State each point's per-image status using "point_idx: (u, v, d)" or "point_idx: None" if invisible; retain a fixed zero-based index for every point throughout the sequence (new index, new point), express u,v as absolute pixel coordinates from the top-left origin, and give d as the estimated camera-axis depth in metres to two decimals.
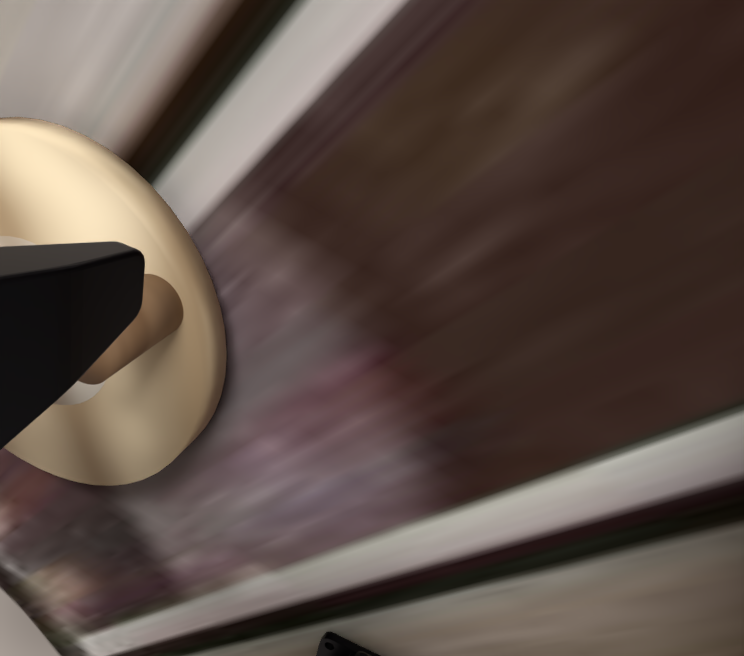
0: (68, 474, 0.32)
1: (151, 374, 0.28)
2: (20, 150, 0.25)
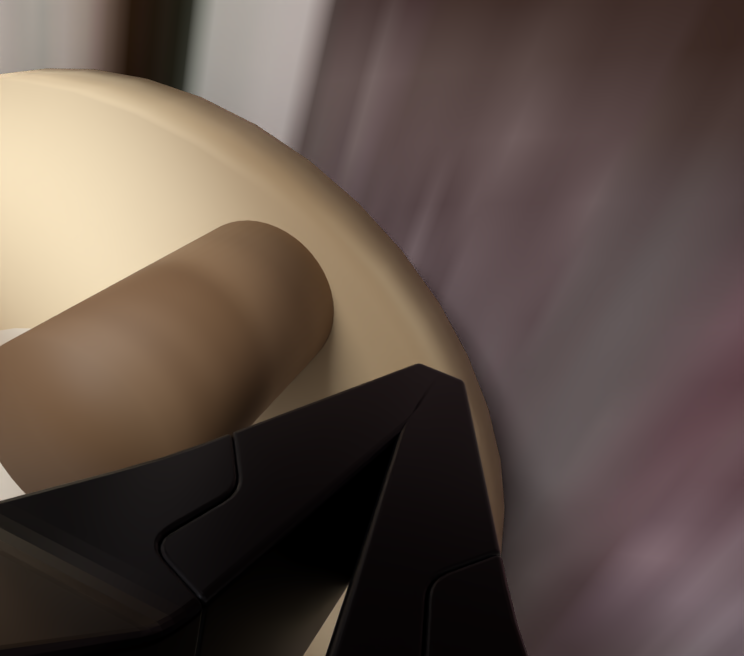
0: None
1: None
2: None
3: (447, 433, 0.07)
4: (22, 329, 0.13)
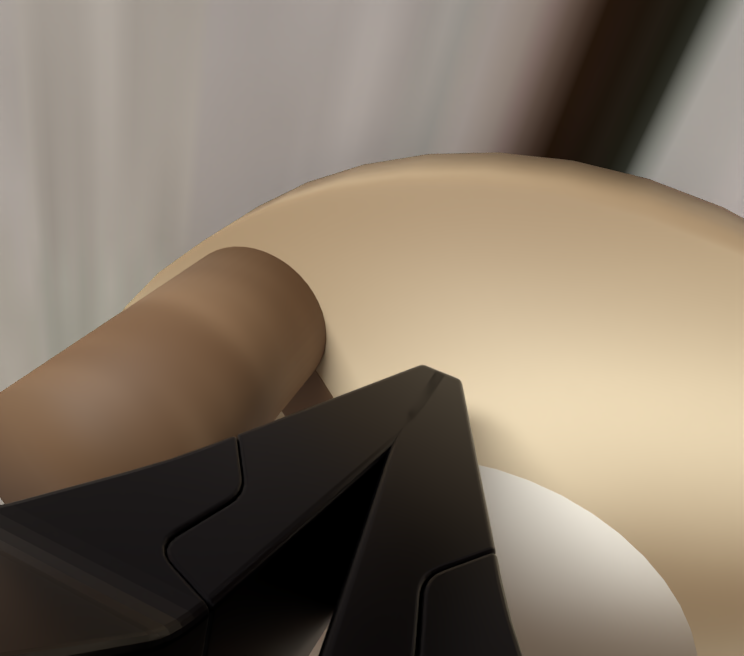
0: None
1: (463, 345, 0.10)
2: None
3: (443, 432, 0.07)
4: None
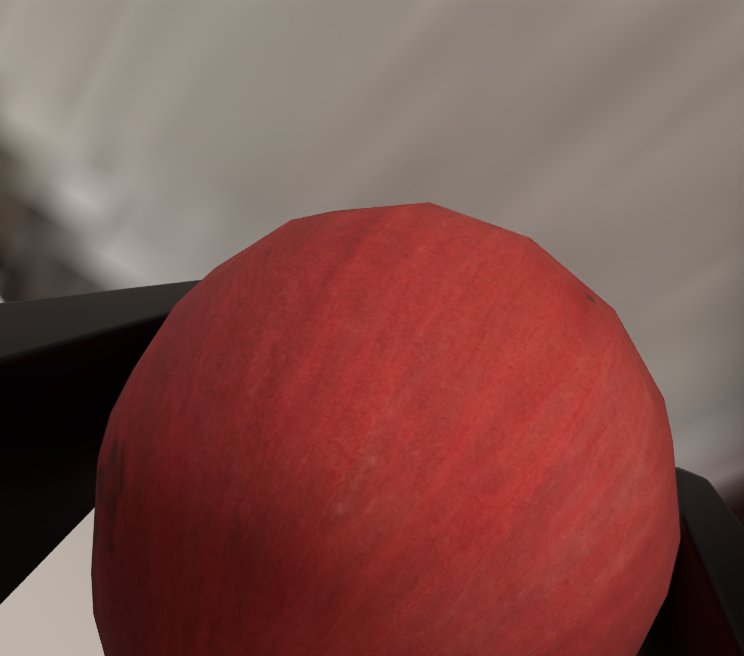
0: None
1: None
2: None
3: (743, 558, 0.07)
4: None
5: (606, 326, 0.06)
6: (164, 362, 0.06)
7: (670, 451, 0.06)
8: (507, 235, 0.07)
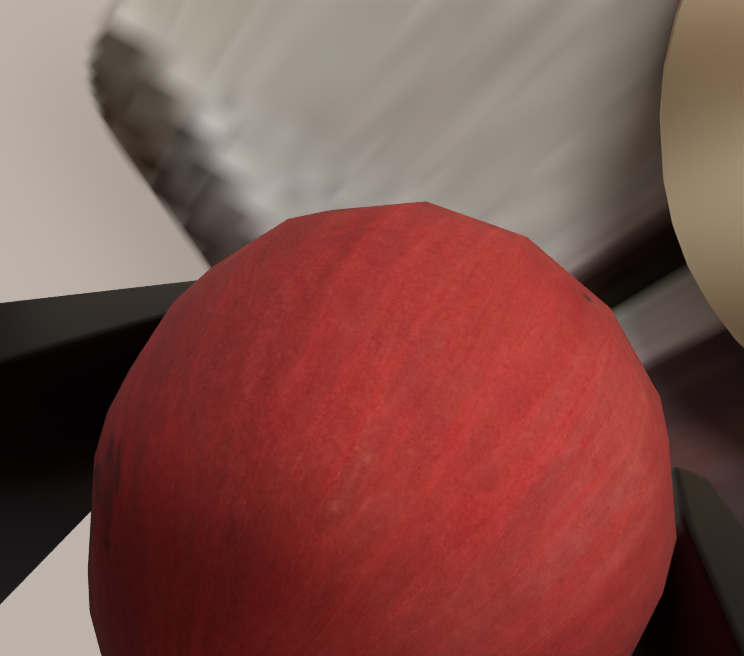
0: None
1: None
2: None
3: (743, 558, 0.07)
4: None
5: (602, 325, 0.06)
6: (161, 361, 0.06)
7: (666, 450, 0.06)
8: (504, 234, 0.07)
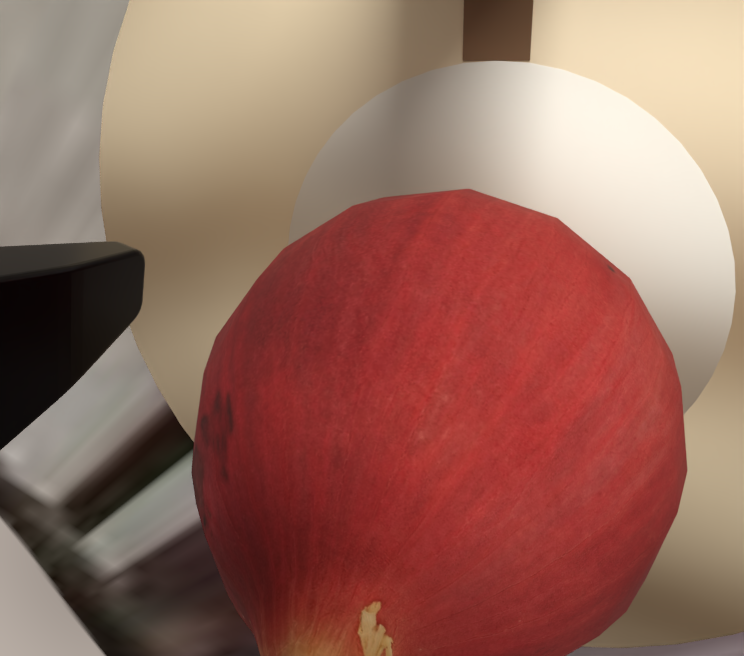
0: None
1: None
2: (139, 84, 0.13)
3: None
4: (325, 151, 0.12)
5: (626, 291, 0.07)
6: (260, 327, 0.07)
7: (679, 394, 0.07)
8: (539, 216, 0.08)
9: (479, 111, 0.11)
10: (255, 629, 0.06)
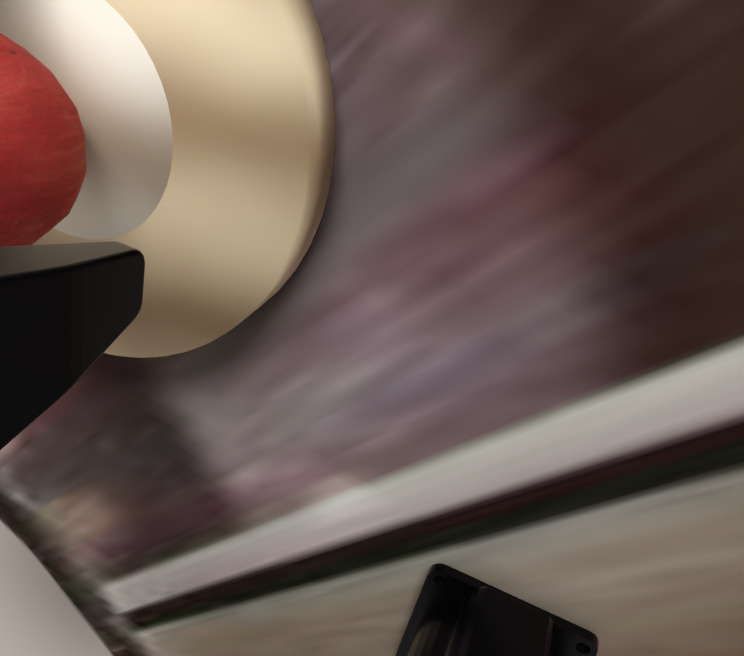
0: (291, 206, 0.19)
1: None
2: None
3: None
4: None
5: (4, 57, 0.16)
6: None
7: (28, 104, 0.16)
8: None
9: (32, 2, 0.20)
10: None
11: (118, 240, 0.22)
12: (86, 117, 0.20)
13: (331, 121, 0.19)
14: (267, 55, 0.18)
